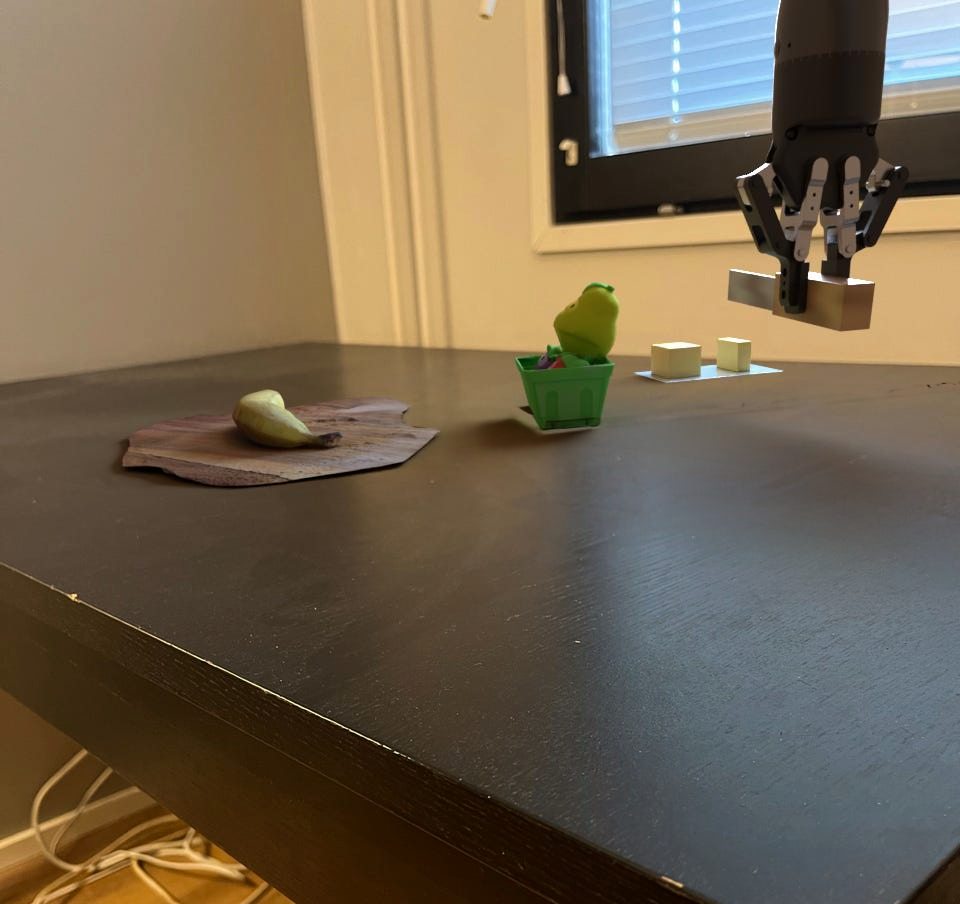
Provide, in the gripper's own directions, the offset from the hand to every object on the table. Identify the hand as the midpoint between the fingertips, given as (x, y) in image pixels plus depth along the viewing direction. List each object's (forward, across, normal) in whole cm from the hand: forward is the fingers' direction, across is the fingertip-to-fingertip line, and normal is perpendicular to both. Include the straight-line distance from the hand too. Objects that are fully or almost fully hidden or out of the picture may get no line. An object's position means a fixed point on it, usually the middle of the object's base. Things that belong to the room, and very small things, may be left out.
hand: (812, 310), depth 76 cm
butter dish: (+8, +4, +27) cm, 29 cm away
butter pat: (+8, +7, +27) cm, 29 cm away
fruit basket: (+9, -16, +12) cm, 22 cm away
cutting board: (+9, -41, +16) cm, 45 cm away
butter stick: (+8, 0, +27) cm, 28 cm away
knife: (0, 0, +4) cm, 4 cm away
